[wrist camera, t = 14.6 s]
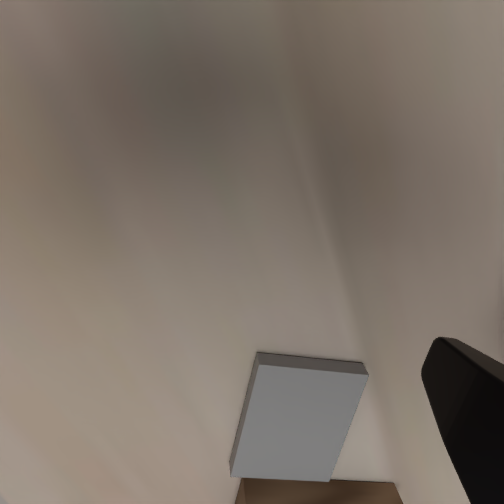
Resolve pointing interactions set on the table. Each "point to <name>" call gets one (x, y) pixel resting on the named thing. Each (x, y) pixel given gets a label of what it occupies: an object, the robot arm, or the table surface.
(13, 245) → the table surface
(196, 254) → the table surface
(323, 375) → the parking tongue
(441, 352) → the robot arm
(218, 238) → the table surface
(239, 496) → the board
